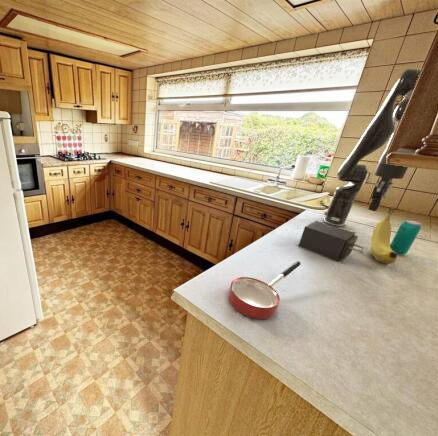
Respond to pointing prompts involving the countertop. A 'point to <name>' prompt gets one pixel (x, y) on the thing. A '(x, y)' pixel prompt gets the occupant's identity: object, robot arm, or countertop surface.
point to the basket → (351, 247)
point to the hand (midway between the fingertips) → (372, 210)
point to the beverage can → (405, 237)
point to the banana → (383, 241)
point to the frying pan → (256, 295)
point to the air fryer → (325, 239)
